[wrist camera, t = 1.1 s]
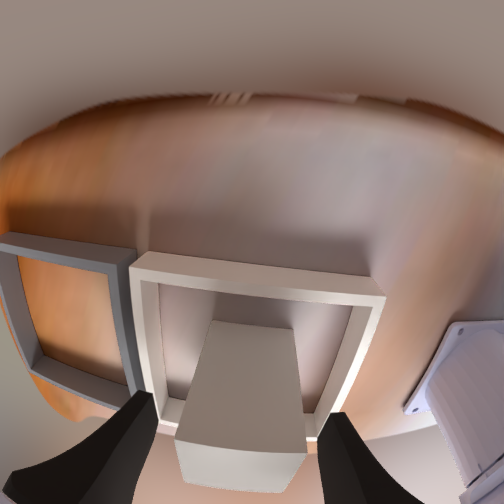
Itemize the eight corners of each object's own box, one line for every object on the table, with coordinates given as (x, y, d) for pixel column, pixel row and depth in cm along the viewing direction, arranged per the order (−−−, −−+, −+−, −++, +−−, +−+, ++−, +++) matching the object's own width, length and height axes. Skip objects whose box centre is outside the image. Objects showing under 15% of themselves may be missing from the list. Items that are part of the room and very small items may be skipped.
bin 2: (371, 277, 12) (386, 296, 10) (319, 417, 15) (322, 440, 13) (147, 250, 12) (128, 266, 10) (162, 399, 15) (153, 421, 13)
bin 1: (136, 249, 12) (116, 264, 10) (153, 397, 15) (144, 419, 13) (9, 231, 12) (-11, 240, 10) (41, 357, 15) (28, 371, 14)
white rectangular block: (293, 329, 13) (307, 453, 6) (279, 384, 14) (282, 492, 8) (212, 320, 13) (174, 439, 6) (210, 376, 14) (184, 482, 8)
